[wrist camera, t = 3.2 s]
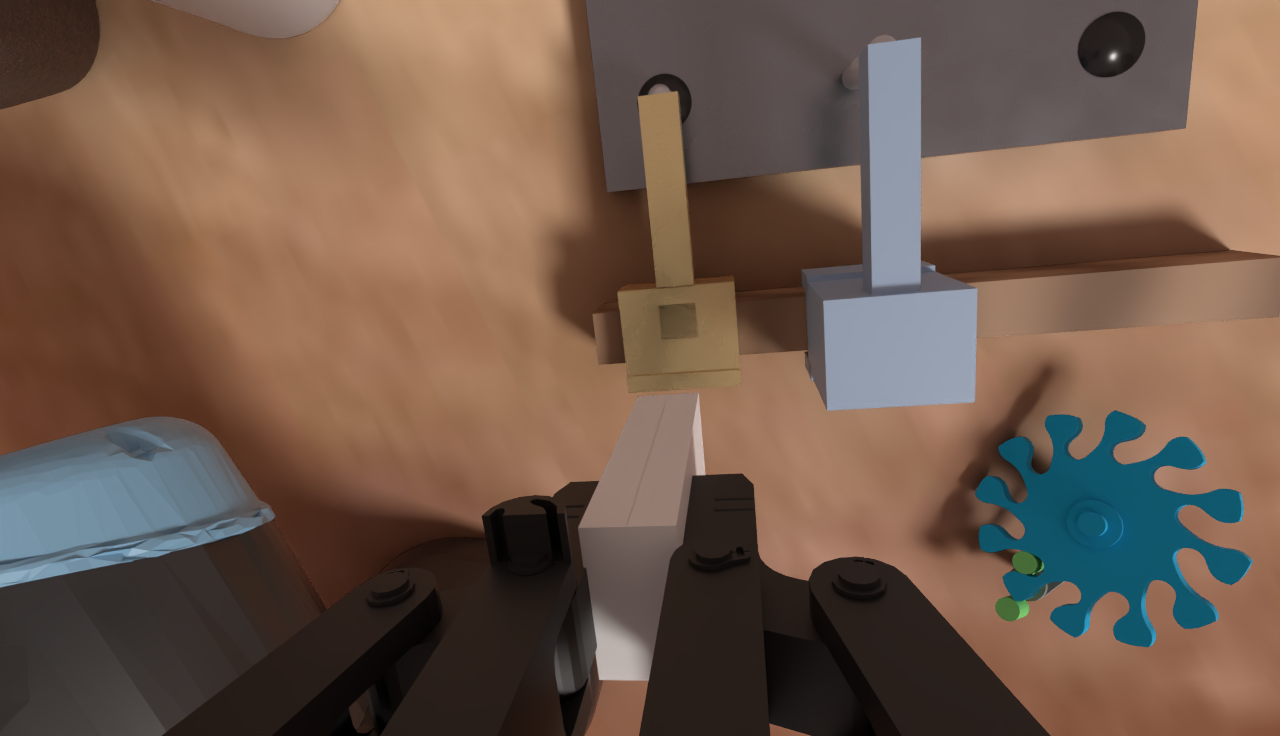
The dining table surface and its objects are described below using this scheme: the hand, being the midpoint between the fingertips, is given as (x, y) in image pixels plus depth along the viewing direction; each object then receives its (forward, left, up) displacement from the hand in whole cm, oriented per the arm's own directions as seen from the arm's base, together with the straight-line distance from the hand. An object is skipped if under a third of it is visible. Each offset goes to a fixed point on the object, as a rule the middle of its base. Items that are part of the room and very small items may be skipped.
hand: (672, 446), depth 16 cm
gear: (+16, -10, -17) cm, 26 cm away
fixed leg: (-1, +4, -15) cm, 16 cm away
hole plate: (+8, +12, -17) cm, 22 cm away
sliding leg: (+7, +4, -15) cm, 17 cm away
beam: (+9, 0, -17) cm, 19 cm away
